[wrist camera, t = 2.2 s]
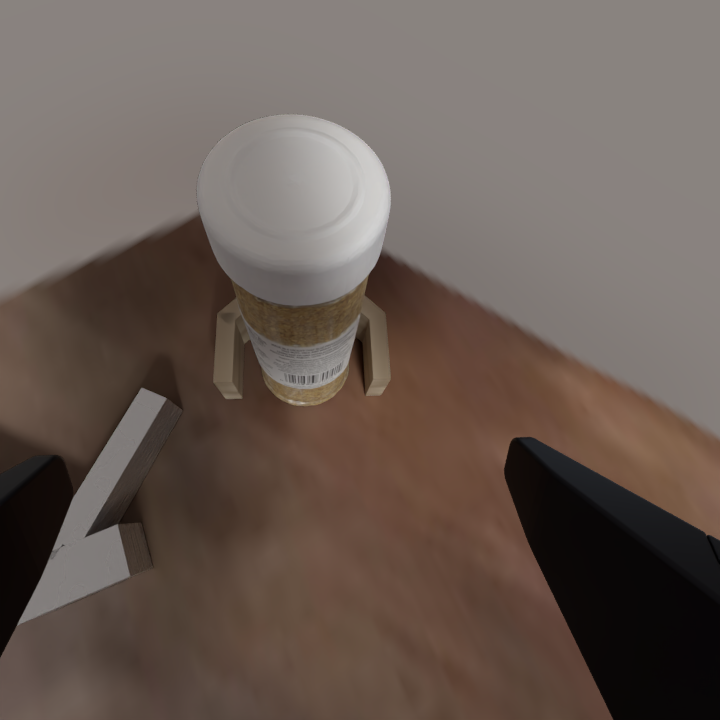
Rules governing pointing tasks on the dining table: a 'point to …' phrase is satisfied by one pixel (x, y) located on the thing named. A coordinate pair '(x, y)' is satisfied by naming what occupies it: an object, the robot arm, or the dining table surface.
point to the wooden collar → (236, 335)
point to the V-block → (106, 512)
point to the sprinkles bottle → (296, 243)
